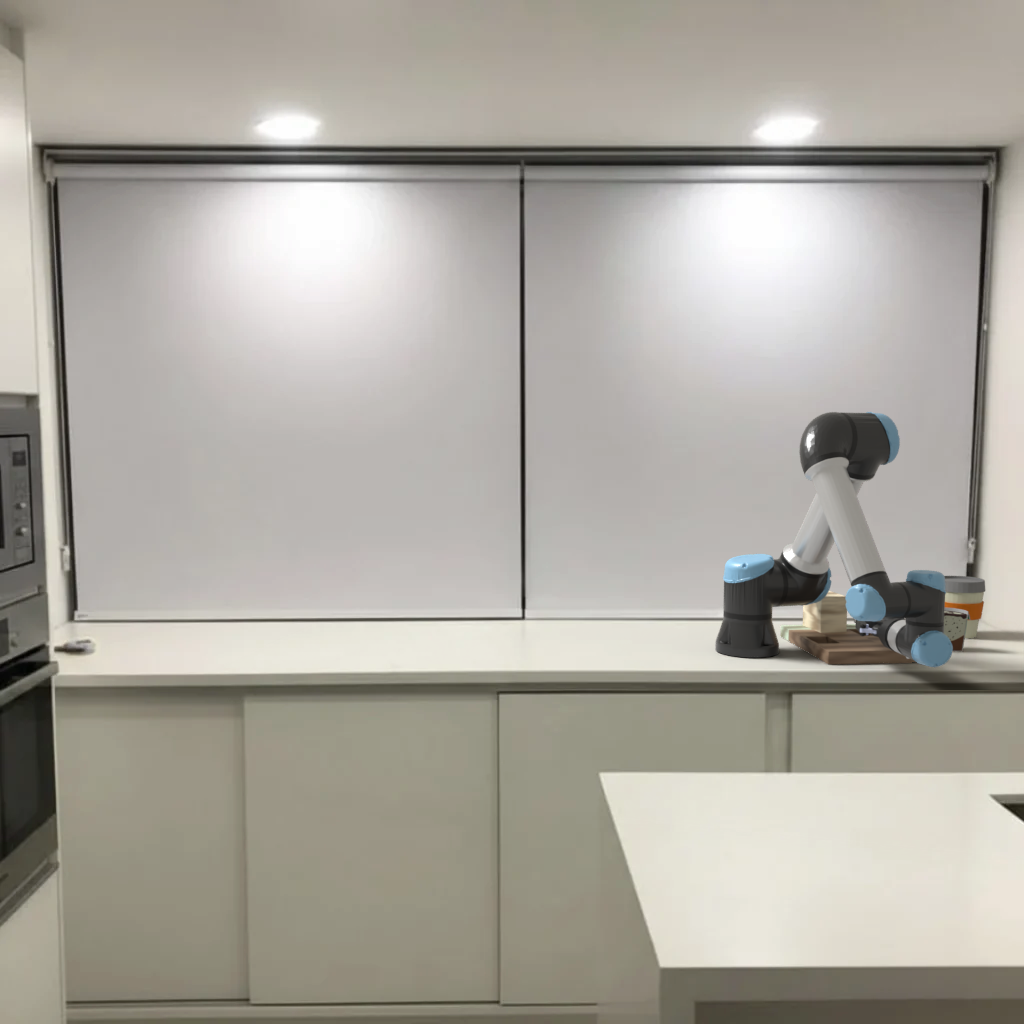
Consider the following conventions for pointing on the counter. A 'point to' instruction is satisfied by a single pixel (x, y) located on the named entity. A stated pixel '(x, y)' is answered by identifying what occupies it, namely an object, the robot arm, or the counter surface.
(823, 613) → the block
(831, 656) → the board
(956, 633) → the food container
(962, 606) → the reusable coffee cup
